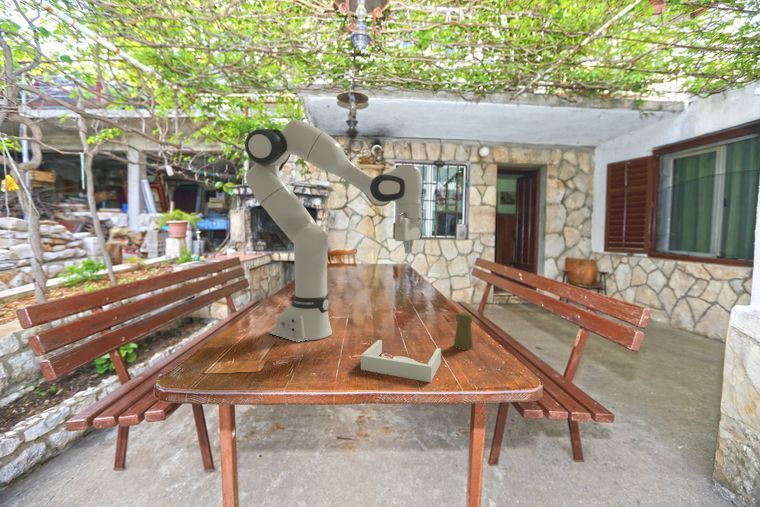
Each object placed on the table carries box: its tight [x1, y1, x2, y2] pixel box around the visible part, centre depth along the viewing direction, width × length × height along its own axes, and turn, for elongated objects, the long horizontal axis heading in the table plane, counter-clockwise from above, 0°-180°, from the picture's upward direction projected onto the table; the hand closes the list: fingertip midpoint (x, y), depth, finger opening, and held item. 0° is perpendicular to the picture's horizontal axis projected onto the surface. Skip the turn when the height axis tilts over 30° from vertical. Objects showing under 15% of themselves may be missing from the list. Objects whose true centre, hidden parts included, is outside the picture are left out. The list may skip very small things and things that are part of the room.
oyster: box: [392, 355, 420, 363], centre depth 89 cm, size 8×12×2 cm, turn 30°
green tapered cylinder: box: [453, 311, 474, 350], centre depth 104 cm, size 6×6×11 cm
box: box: [360, 339, 442, 383], centre depth 90 cm, size 19×13×4 cm
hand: (408, 253), depth 113 cm, fingers closed
